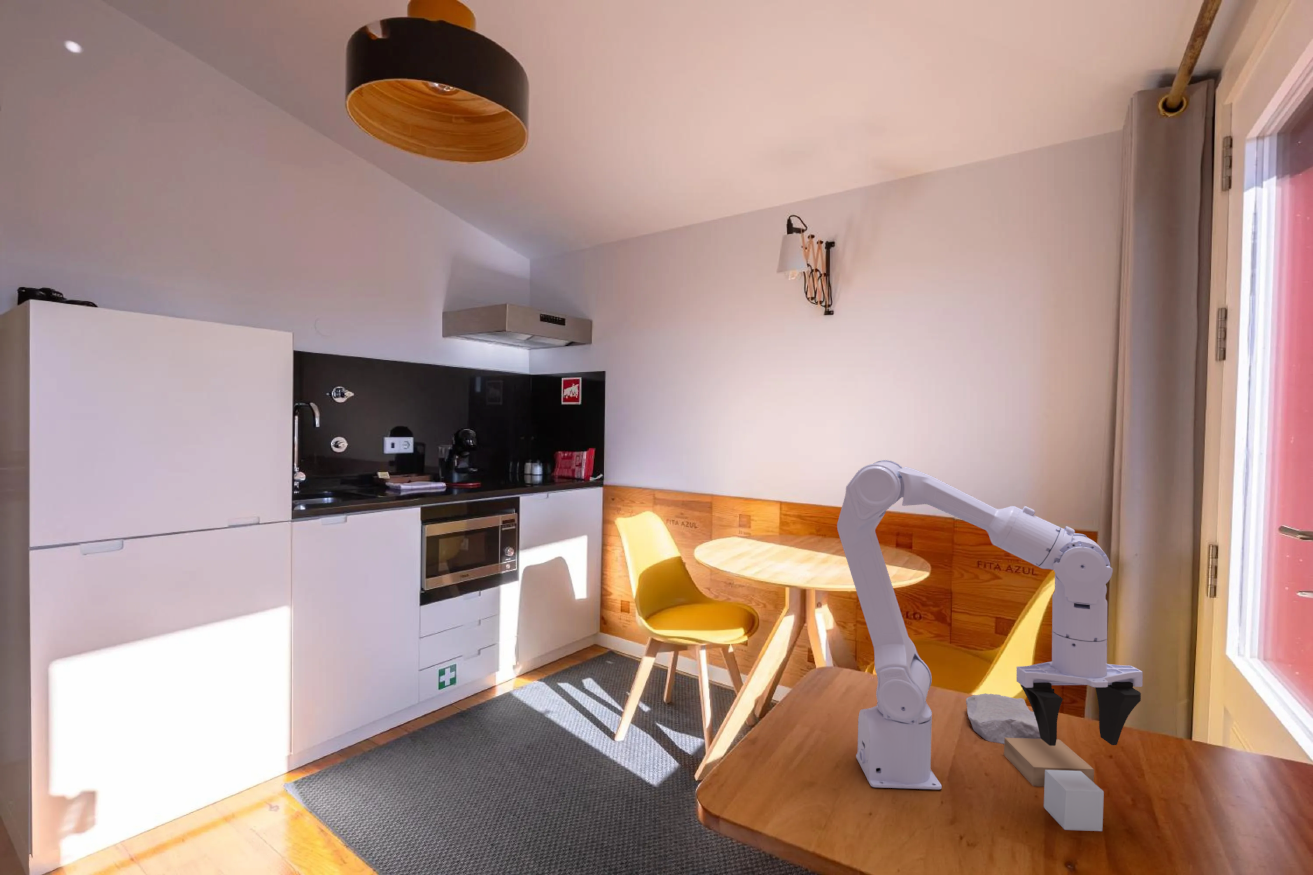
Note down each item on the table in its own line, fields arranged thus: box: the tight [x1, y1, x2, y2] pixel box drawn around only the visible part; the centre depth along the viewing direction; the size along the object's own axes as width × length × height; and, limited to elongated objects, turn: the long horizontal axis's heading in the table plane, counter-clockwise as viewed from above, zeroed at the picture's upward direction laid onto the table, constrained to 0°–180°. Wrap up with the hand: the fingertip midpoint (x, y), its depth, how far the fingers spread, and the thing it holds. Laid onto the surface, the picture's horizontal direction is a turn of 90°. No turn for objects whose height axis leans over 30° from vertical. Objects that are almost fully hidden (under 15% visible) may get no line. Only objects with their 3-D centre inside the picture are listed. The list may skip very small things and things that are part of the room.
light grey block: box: [1043, 770, 1105, 832], centre depth 80 cm, size 4×4×5 cm
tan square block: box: [1003, 738, 1095, 787], centre depth 91 cm, size 8×8×3 cm
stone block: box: [965, 693, 1041, 745], centre depth 104 cm, size 12×5×10 cm
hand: (1078, 741), depth 80 cm, fingers open, 7 cm apart
